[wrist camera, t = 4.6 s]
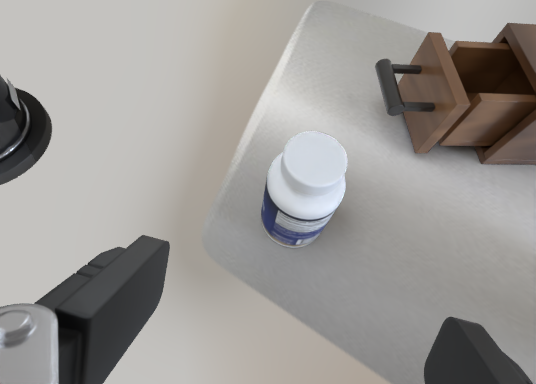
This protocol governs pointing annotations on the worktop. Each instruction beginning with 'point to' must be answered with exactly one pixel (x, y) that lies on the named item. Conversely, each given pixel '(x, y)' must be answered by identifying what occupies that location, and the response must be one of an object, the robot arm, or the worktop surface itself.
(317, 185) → the pill bottle
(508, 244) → the worktop surface
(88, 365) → the robot arm
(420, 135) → the drawer
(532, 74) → the cabinet
